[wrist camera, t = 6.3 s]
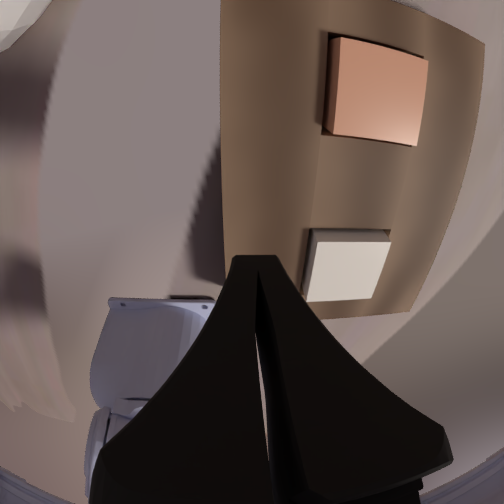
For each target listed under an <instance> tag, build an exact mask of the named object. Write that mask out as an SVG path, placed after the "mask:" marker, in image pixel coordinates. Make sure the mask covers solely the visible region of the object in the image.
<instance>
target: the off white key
mask: <svg viewBox="0 0 504 504" xmlns="http://www.w3.org/2000/svg"><path fill="white" fill-rule="evenodd" d="M390 245H391V241H390V239H389V238H388V236H387V235H386V233H385V232H384V231H383V229H352V228H309V235H308V241H307V248H306V254H305V261H304V267H303V273H302V279H301V283H302V287H303V291H304V295H305V299H306V302H318V301H337V300H354V299H369V298H371V297H372V295H373V292H374V290H375V287H376V285H377V282H378V279H379V277H380V274H381V271H382V268H383V266H384V263H385V260H386V257H387V254H388V251H389V248H390Z"/></svg>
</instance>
